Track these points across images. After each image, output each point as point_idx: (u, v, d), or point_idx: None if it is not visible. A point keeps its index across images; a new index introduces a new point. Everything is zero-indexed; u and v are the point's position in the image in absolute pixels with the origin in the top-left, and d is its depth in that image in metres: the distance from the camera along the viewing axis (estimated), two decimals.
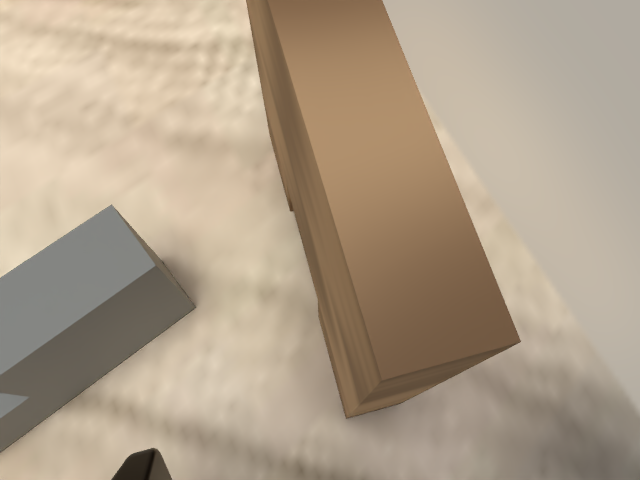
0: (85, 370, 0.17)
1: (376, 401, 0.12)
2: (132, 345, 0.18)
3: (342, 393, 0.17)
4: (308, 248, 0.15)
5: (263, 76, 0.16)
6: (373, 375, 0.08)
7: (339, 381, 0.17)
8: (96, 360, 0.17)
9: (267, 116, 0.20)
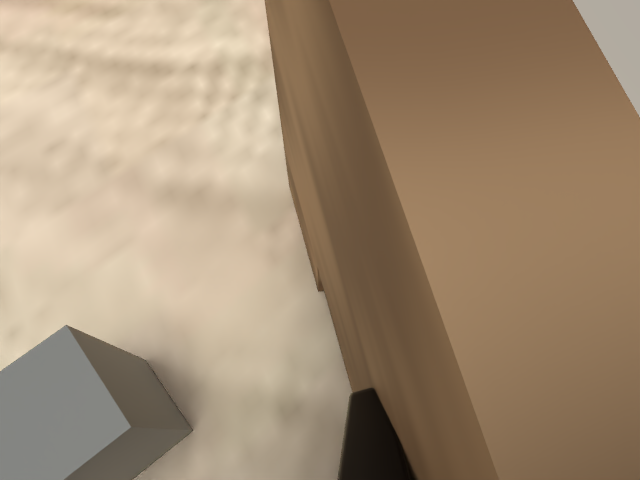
0: None
1: None
2: None
3: None
4: None
5: (291, 129, 0.11)
6: None
7: None
8: None
9: (289, 168, 0.15)
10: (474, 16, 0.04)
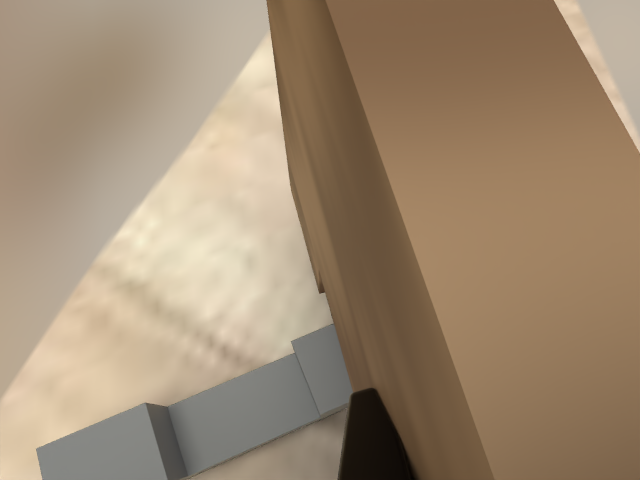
0: None
1: None
2: None
3: None
4: None
5: (293, 134, 0.11)
6: None
7: None
8: None
9: (290, 172, 0.15)
10: (469, 29, 0.05)
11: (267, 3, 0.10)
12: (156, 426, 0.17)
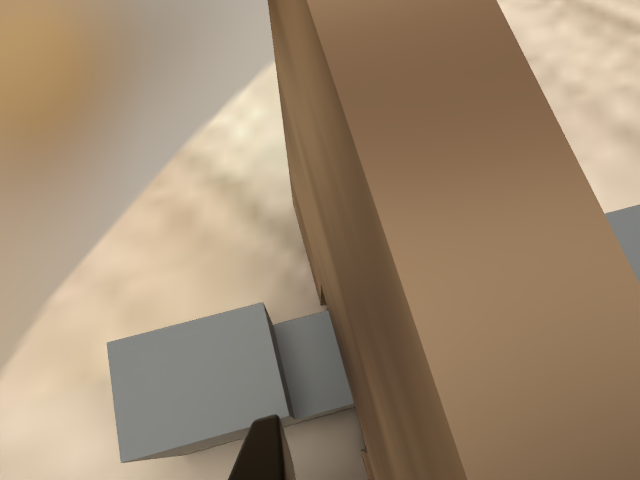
0: None
1: None
2: None
3: None
4: (362, 405, 0.11)
5: (296, 159, 0.12)
6: None
7: None
8: None
9: (293, 189, 0.16)
10: (459, 104, 0.05)
11: (273, 39, 0.10)
12: (272, 339, 0.12)
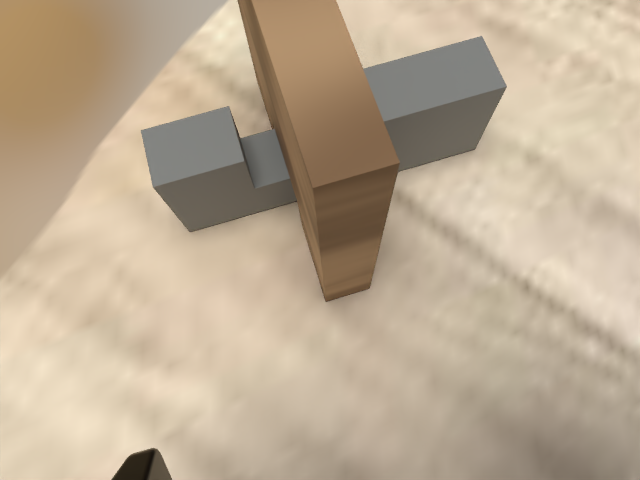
0: (398, 158, 0.23)
1: (335, 255, 0.17)
2: (428, 156, 0.24)
3: (319, 275, 0.21)
4: (286, 158, 0.20)
5: (245, 23, 0.20)
6: (312, 195, 0.12)
7: (316, 266, 0.21)
8: (409, 153, 0.23)
9: (253, 62, 0.24)
10: None
11: None
12: (235, 129, 0.20)
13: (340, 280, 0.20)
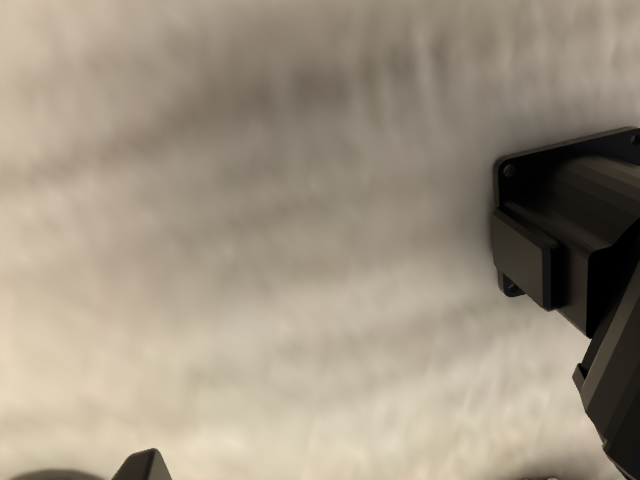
0: None
1: None
2: None
3: None
4: None
5: None
6: None
7: None
8: None
9: None
10: None
11: None
12: None
13: None
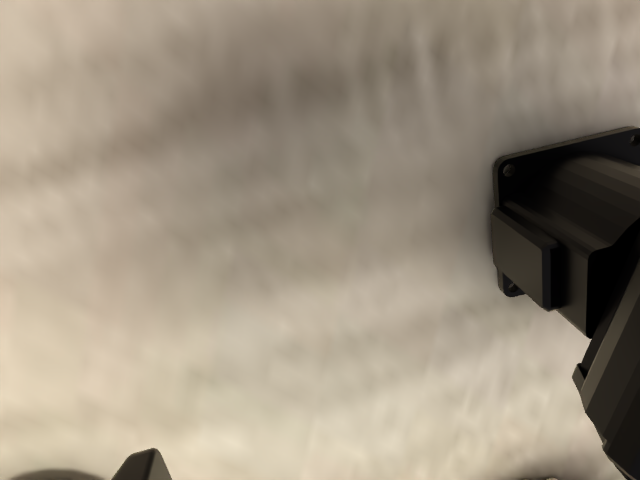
0: None
1: None
2: None
3: None
4: None
5: None
6: None
7: None
8: None
9: None
10: None
11: None
12: None
13: None
